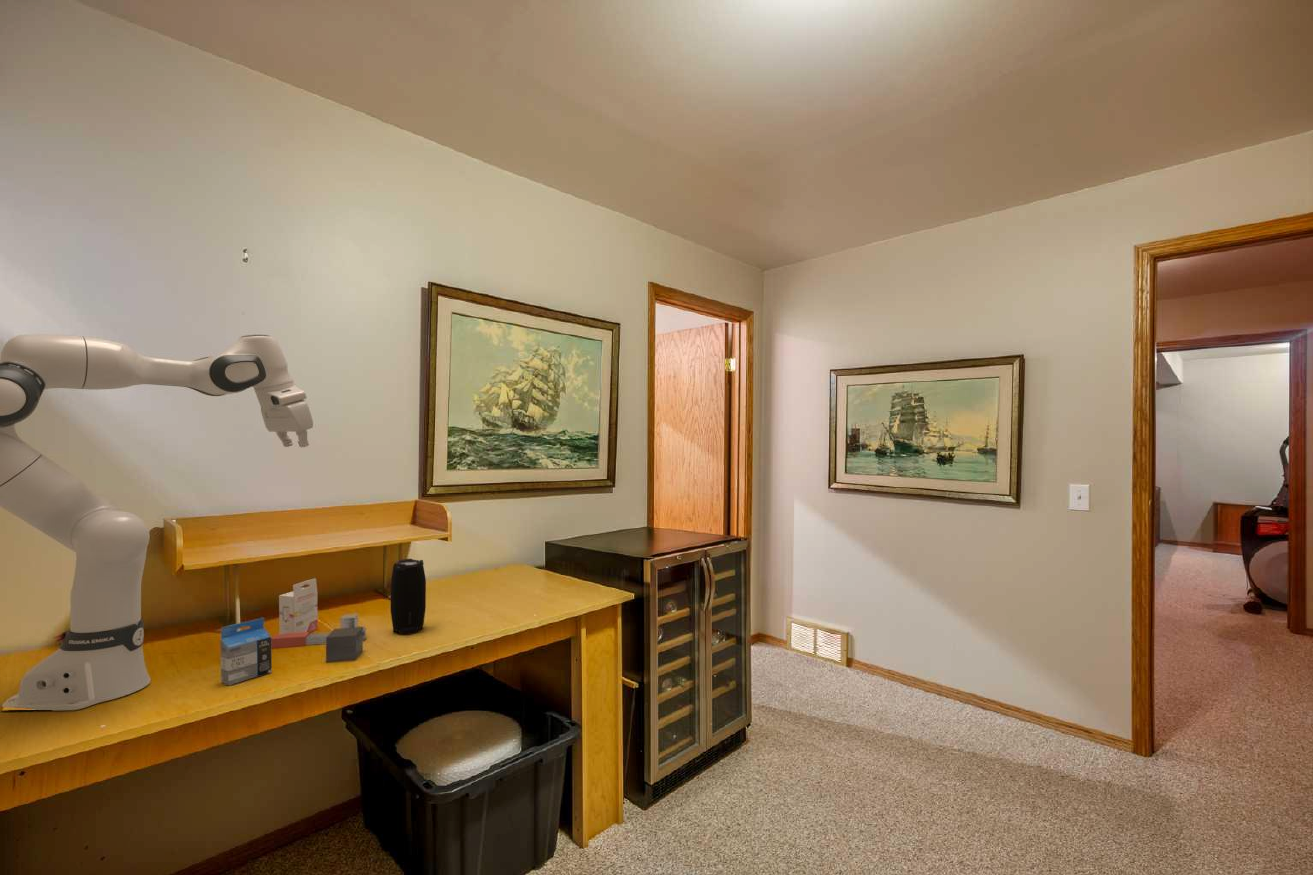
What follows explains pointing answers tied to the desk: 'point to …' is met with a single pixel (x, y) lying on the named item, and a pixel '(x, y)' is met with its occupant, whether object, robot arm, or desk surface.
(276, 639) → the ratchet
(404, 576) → the portable speaker
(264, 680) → the desk surface
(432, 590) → the desk surface
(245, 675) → the label tape box
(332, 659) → the dark grey block
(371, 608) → the desk surface
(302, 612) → the ink cartridge box
